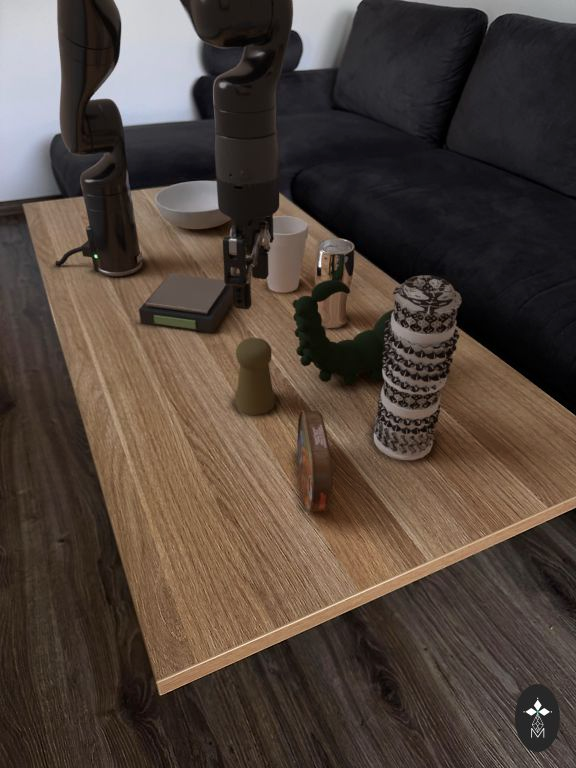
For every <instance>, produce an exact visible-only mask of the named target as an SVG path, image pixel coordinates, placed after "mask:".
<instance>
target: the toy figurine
mask: <svg viewBox="0 0 576 768" xmlns="http://www.w3.org/2000/svg"><path fill="white" fill-rule="evenodd" d="M337 292H344V293H346V294H348V295H349V294H350V293H351V288H350V289H349V287H348V286H347V285H346V284H344V283H343V282H340V281H338V280H328V281H323V282H321V283H319V284H317V285H316V284H315V286H313V288H312V289H311V295H303V296H300V297H299V298H298V299H294V300H293V301H292V302H291V304H292V307H293V308H294V311H295V312H294V314H293V316H292V319H293V320H294V321H295V326H297V328H296V329H295V330H294V336H295V337H296V338H298V341H299V342H298V347H296V354H297V356H299V357H300V359H299V363H300V365H302V366H303V367H307V366H310V365H311V363H313V365H314V367H315V368H317V369H319V370H320V371H319V372H318V379H320V381H321V382H324V383H327V382H329V381H331V380H332V376H333V375H332V374H336V375H337V376H339V377H342V378H343V379H344V383H345V385H348V386H354V385H356V383H357V381H358V377H357V376H359V375H361V374H362V373H363V372H365V373H368V376H369V378H370V379H371V380H372V381H375V382H376V381H377V382H378V381H379V382H380V381H381V380H384V378H383V373H382V366H383V364H384V363H383V361H382V360H383V358H384V355H383V351H384V350H385V349H384V343H385V340H384V336H385V335H386V333H385V327H387V326H386V325H385V322H386V320H388V319H389V316H390V314H392V313H393V311H394V308H393V309H391V310H389V311H387V312H385V313H383V314H382V315H381V316H380V317H379V318H378V319H377V321H376V323H375V324H374V327H373V329H366V330H364V331H361V332H360V333H359V332H358V334H356V335H355V337H353V338H352V339H343V340H340V341H338V342H335V341H332V340H330V338H329V337H328V336H327V333H326V328H325V327H323V326H322V325H321V324H322V318H321V314H320V313H319V312H318V302H321V301H324V300H325V299H327V298H328V297H329V296H331V295H333V294H334V293H337ZM390 327H391V325H390Z"/></svg>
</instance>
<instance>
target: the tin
mask: <svg viewBox="0 0 576 768" xmlns="http://www.w3.org/2000/svg"><path fill="white" fill-rule="evenodd" d="M296 439H297V444H296V448H297V449H296V451H297V461H298V468H299V470H298V471H299V475H300V484H301V490H302V497H303V503H304V507H305V511H306V512H307V513H310V512H326V511H328V510H329V509H330V502H331V501H330V500H331V495H332V491H333V487H334V486H333V484H334V473H333V472H334V471H333V461H332V454H331V449H330V444H329V439H328V434H327V430H326V425H325V422H324V417H323V414H322V413H321V411H318V410H303V409H301V410H300V411H299V415H298V421H297V438H296Z"/></svg>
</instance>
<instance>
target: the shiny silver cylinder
mask: <svg viewBox="0 0 576 768" xmlns="http://www.w3.org/2000/svg"><path fill="white" fill-rule="evenodd" d="M315 249H316V250H315V255H314V256H315V257H314V266H313V267H314V271H313V272H314V273H313V275H314V283H315V286H316V285H317V284H319V283H321V282H323V281H328V280H338V281H340V282H343V283H344V284H346V285H347V286H348V287H349V289H350V290H351V287H352V282H353V278H354V269H355V244H354V243H353V242H352V241H350V240H348V239H345V238H341V237H327V238H322V239H321V240H319V241H317V243H316V248H315ZM348 297H349V294H346V293H344V292H337V293H334V294H333V295H331V296H329V297H328V298H327V299H325V300H324V301H321V302H317V303H318V312H319V313H320V314H321V318H322V324H321V325H322V326H323V327H324V328H325V329H337V328H338V329H339V328H341V327H343V326H345V325H346V323H348V314H347V302H348Z"/></svg>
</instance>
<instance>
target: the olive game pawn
mask: <svg viewBox="0 0 576 768" xmlns="http://www.w3.org/2000/svg"><path fill="white" fill-rule="evenodd" d="M235 349H236V350H235V357H236V358H235V359H236V360H237V363H238V364H239V371H238V382H237V389H236V390H237V391H236V400H235V406H236V408H237V409H238V410H239V411H240V412H241V413H244V414H246V415H250V416H260V415H264V414H266V413H268V412H270V411H271V410H272V409H274V406H275V403H276V402H275V395H274V389H273V384H272V378H271V377H272V376H271V373H270V367H269V363H270V362H271V360H272V347H271V345H270V344H269V343H268V342H267V341H266V340H265V339H262V338H258V337H248V338H246V339H243V340H241V341H240V342H239V343H238V345H237V347H236V348H235Z"/></svg>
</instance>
